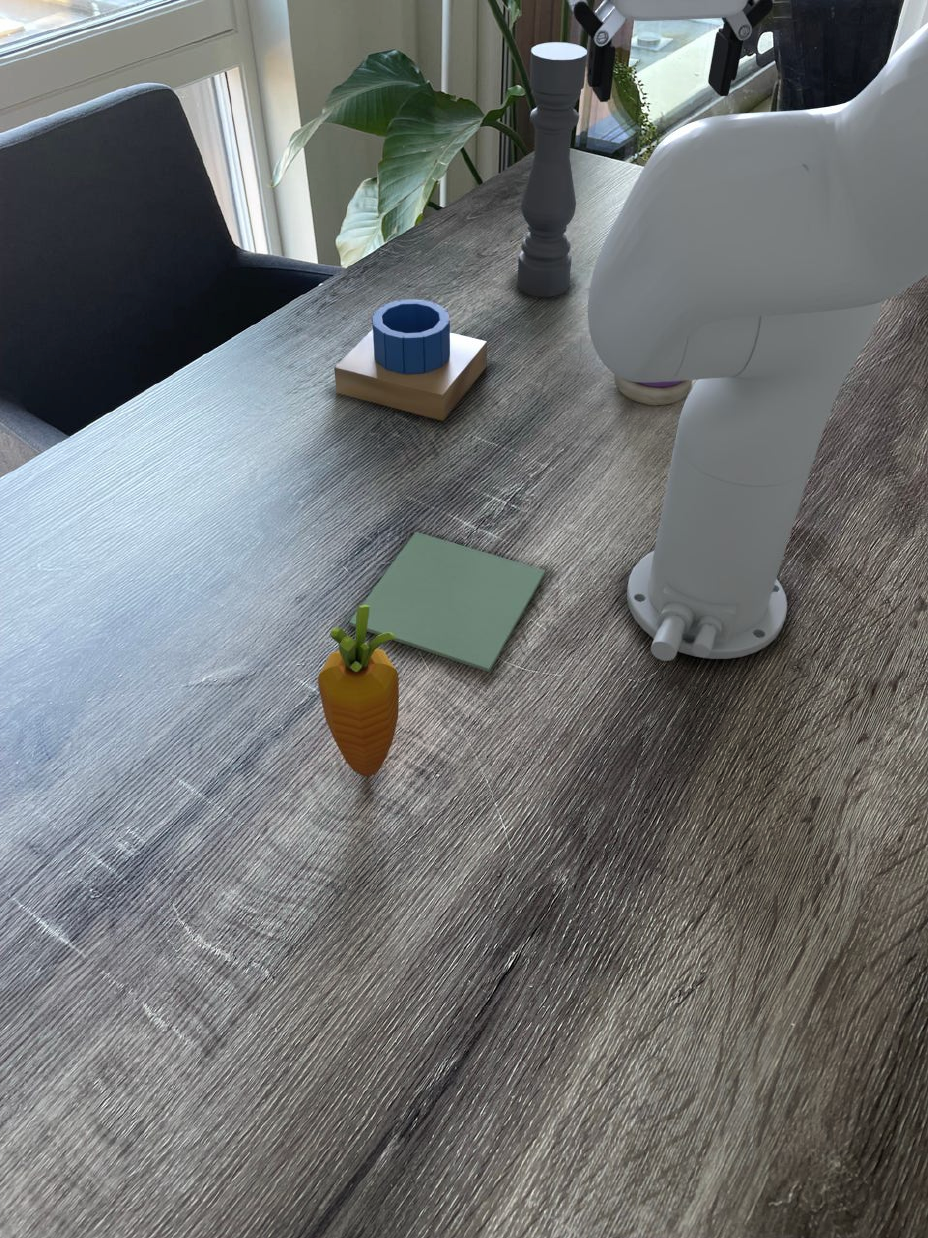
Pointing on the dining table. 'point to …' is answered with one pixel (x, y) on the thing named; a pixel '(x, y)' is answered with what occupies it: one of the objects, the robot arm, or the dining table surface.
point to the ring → (411, 336)
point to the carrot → (360, 697)
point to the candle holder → (551, 168)
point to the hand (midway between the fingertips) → (659, 92)
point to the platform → (412, 378)
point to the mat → (451, 600)
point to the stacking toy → (653, 390)
